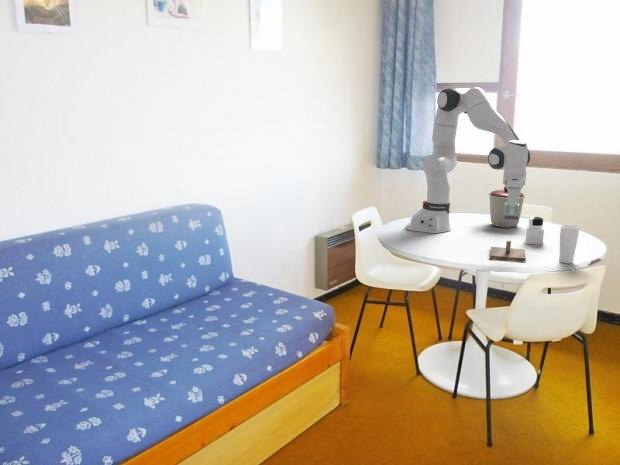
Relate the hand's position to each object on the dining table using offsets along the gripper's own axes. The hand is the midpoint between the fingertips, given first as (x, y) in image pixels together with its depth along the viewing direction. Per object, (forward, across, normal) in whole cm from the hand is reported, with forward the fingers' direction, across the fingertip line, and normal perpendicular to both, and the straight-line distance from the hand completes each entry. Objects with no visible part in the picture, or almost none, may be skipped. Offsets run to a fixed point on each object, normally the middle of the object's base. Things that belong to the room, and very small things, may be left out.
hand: (511, 212), depth 237 cm
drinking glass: (+19, +2, +23) cm, 30 cm away
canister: (+19, -56, -1) cm, 59 cm away
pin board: (+19, 0, 0) cm, 19 cm away
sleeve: (+2, 0, 0) cm, 2 cm away
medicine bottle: (+19, -26, +12) cm, 34 cm away
